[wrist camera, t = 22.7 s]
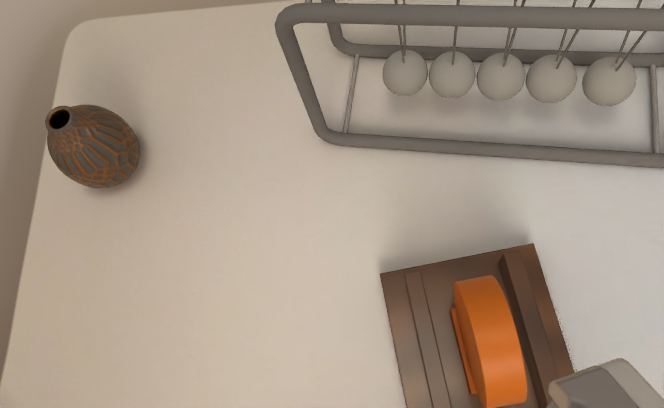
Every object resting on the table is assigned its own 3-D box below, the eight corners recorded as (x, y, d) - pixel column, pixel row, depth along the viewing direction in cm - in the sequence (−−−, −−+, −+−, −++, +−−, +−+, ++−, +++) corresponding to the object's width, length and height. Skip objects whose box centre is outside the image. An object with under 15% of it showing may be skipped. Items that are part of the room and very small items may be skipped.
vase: (148, 123, 52) (97, 72, 44) (153, 187, 50) (100, 145, 42) (81, 141, 53) (19, 93, 45) (83, 205, 50) (17, 166, 42)
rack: (590, 438, 37) (610, 442, 34) (419, 467, 38) (418, 473, 35) (530, 247, 43) (541, 231, 39) (380, 277, 44) (376, 264, 40)
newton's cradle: (680, 59, 46) (822, -133, 30) (687, 172, 43) (853, 25, 26) (335, 48, 52) (295, -118, 36) (318, 146, 49) (264, 13, 32)
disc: (485, 290, 41) (502, 260, 32) (516, 402, 38) (542, 401, 29) (446, 298, 41) (452, 270, 33) (473, 409, 38) (487, 410, 30)
